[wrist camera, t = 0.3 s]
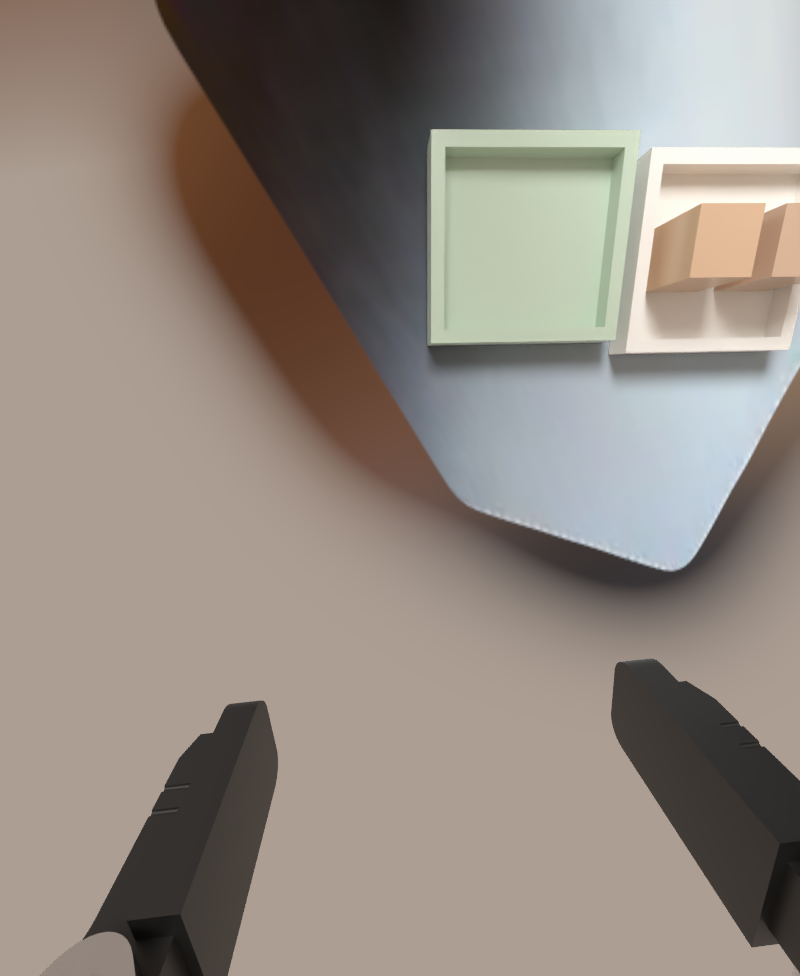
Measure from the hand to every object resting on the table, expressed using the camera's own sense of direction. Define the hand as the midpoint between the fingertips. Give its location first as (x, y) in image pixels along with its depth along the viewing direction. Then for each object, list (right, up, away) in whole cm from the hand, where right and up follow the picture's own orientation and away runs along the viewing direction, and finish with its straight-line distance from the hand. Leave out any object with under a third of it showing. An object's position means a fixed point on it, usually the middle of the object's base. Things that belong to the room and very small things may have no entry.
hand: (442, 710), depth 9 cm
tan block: (+27, +24, +23) cm, 43 cm away
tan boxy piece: (+21, +23, +23) cm, 39 cm away
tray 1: (+9, +24, +23) cm, 34 cm away
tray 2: (+24, +24, +24) cm, 42 cm away
